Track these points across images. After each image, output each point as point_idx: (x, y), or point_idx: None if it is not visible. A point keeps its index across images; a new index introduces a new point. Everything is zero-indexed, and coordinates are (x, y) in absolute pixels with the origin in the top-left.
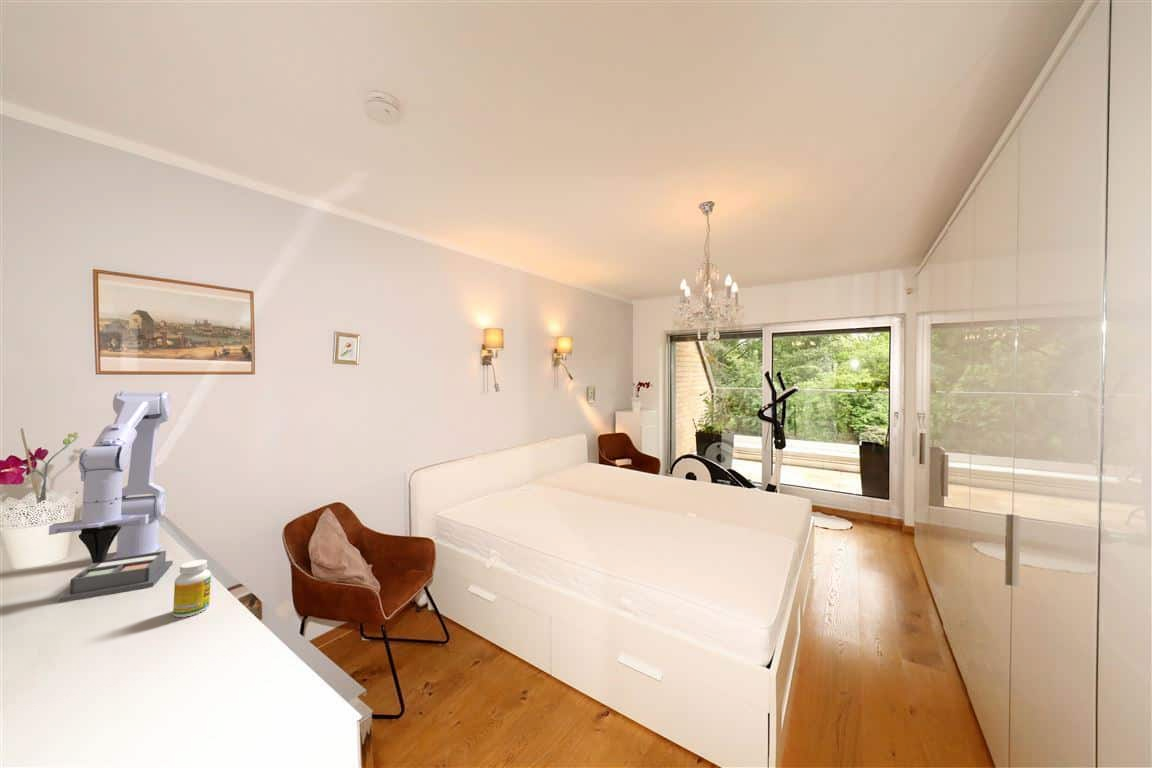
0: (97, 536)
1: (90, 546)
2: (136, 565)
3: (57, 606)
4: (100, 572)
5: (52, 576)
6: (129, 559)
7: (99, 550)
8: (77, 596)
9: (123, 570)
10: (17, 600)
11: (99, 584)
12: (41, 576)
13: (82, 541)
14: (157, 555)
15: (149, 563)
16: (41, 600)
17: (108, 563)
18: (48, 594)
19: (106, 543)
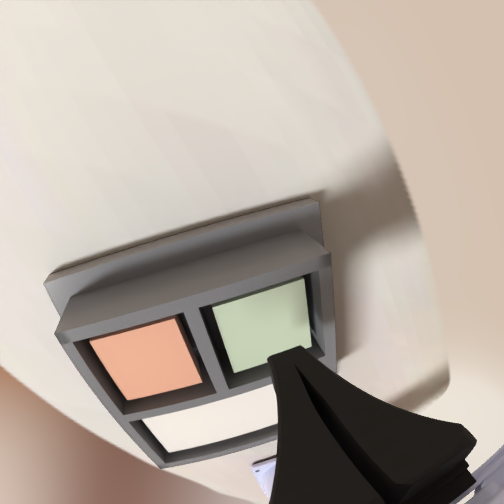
0: (363, 482)
1: (363, 408)
2: (165, 388)
3: (293, 161)
4: (266, 338)
5: (399, 376)
6: (242, 431)
7: (302, 402)
8: (265, 213)
9: (177, 347)
10: (416, 252)
11: (220, 263)
12: (414, 375)
13: (427, 417)
14: (167, 450)
15: (127, 398)
16: (367, 235)
17: None
18: (371, 279)
19: (281, 450)
